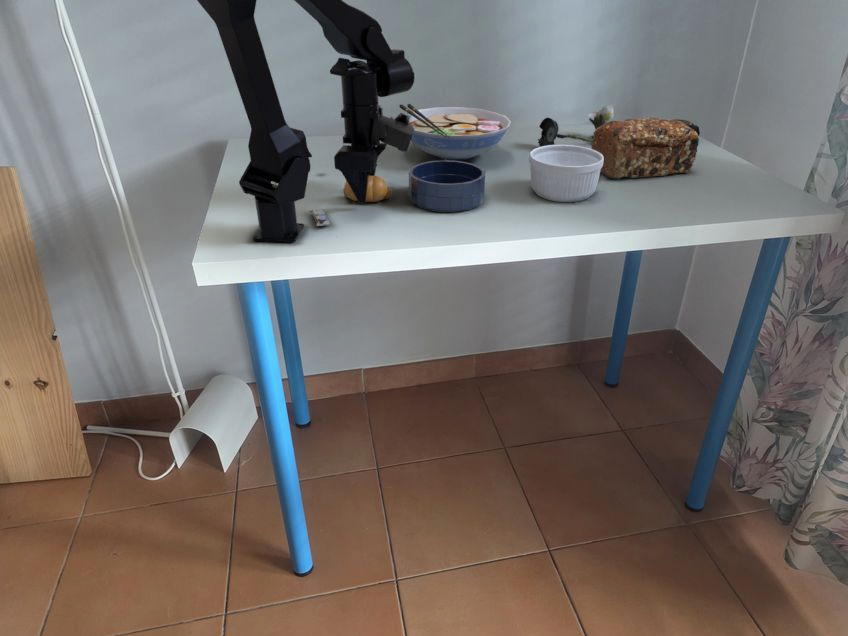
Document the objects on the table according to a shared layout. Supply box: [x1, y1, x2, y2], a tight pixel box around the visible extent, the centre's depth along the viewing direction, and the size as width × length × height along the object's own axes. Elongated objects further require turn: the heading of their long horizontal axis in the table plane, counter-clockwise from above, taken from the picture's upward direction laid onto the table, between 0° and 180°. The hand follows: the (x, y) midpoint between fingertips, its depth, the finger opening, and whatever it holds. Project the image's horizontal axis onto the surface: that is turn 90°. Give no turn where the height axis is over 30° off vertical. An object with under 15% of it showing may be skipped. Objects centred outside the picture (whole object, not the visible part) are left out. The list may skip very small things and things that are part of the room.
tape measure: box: [672, 118, 701, 137], centre depth 156 cm, size 7×7×4 cm
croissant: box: [342, 175, 393, 203], centre depth 117 cm, size 5×9×4 cm, turn 88°
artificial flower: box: [537, 104, 615, 147], centre depth 151 cm, size 9×22×10 cm, turn 117°
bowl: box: [408, 159, 486, 213], centre depth 118 cm, size 13×13×5 cm
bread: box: [590, 117, 700, 180], centre depth 134 cm, size 19×11×10 cm, turn 108°
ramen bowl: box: [399, 103, 512, 162], centre depth 139 cm, size 25×23×8 cm
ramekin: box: [528, 144, 604, 203], centre depth 122 cm, size 13×13×7 cm
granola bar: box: [309, 208, 331, 227], centre depth 109 cm, size 7×2×1 cm, turn 21°
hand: (366, 194), depth 117 cm, fingers open, 8 cm apart
